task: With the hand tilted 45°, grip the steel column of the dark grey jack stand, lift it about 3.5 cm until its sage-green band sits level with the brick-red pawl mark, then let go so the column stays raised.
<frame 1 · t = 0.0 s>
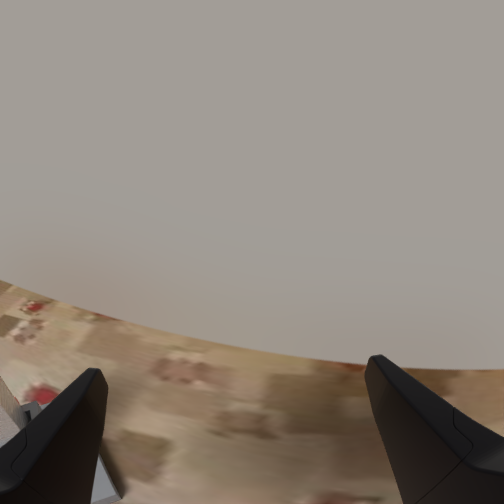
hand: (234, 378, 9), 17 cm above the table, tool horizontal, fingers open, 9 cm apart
column: (2, 418, 15), point 7 cm above the table, slide at 0.0 cm
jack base: (42, 463, 18), on the table
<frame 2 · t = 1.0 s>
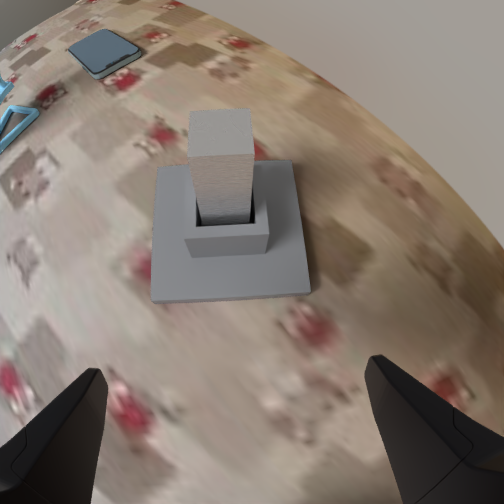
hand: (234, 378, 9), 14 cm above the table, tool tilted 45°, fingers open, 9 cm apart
light blue holder stand: (8, 133, 30), on the table
column: (223, 182, 20), point 7 cm above the table, slide at 0.0 cm
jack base: (227, 229, 26), on the table
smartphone: (102, 55, 36), on the table
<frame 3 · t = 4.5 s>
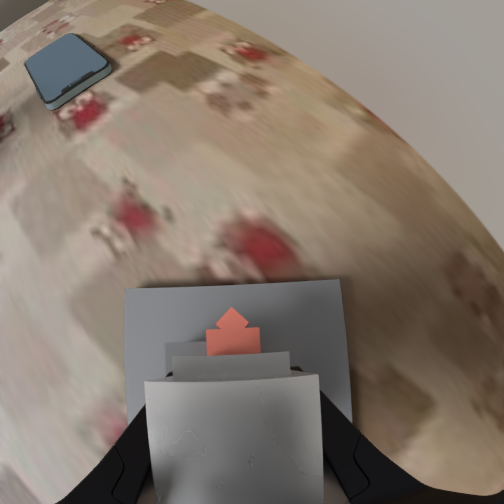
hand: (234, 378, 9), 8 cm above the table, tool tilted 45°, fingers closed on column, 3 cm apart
column: (237, 410, 10), point 7 cm above the table, slide at 0.0 cm, touching gripper
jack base: (237, 395, 16), on the table
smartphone: (64, 71, 26), on the table
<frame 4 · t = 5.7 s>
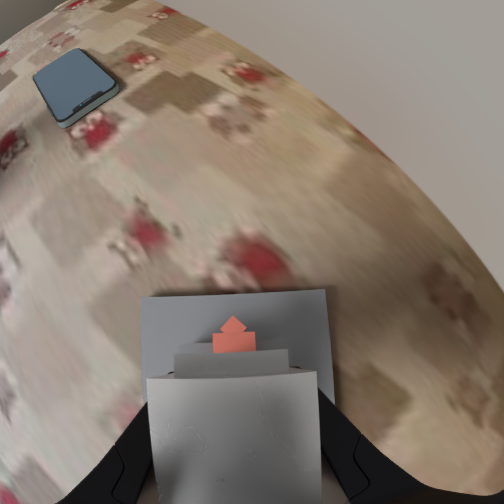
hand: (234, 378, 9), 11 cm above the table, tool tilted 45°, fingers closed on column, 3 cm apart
column: (236, 407, 10), point 10 cm above the table, slide at 3.0 cm, touching gripper
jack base: (237, 387, 19), on the table
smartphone: (72, 87, 29), on the table
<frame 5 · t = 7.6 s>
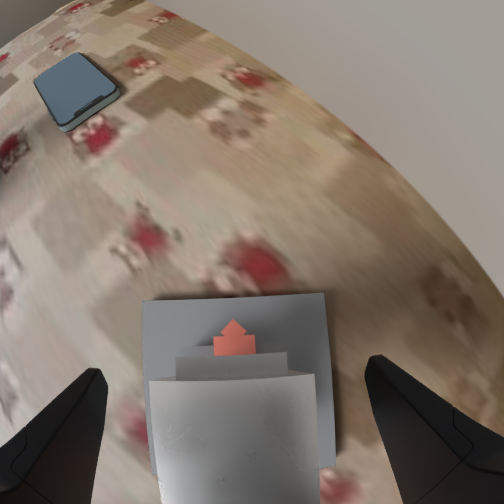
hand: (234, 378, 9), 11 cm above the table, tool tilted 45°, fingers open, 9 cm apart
column: (237, 409, 10), point 10 cm above the table, slide at 3.2 cm
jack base: (238, 389, 19), on the table
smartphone: (73, 91, 29), on the table
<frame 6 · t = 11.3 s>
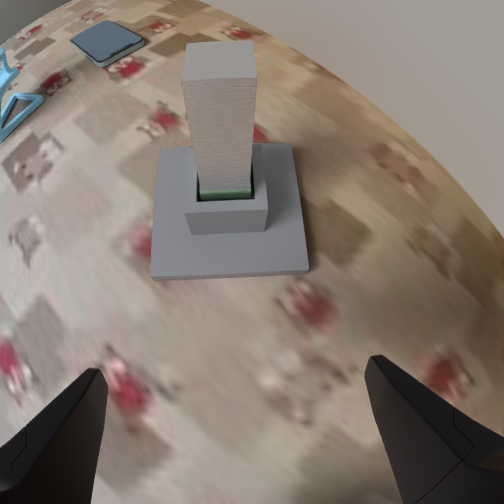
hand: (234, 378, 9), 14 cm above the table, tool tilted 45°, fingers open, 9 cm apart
light blue holder stand: (13, 120, 31), on the table
column: (222, 127, 17), point 10 cm above the table, slide at 3.2 cm
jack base: (227, 208, 27), on the table
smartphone: (105, 45, 36), on the table
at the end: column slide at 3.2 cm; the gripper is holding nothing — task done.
